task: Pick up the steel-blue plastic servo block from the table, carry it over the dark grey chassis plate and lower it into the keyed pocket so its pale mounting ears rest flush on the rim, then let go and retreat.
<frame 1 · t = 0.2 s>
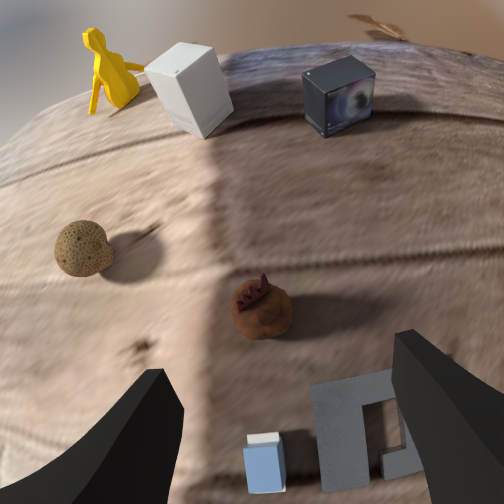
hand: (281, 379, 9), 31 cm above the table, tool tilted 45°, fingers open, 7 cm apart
chassis plate: (380, 425, 33), on the table
supplement box: (203, 118, 58), on the table
wooden figurine: (268, 320, 41), on the table
small box: (338, 118, 52), on the table
natural sponge: (101, 261, 49), on the table
servo block: (269, 458, 34), on the table
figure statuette: (127, 100, 66), on the table
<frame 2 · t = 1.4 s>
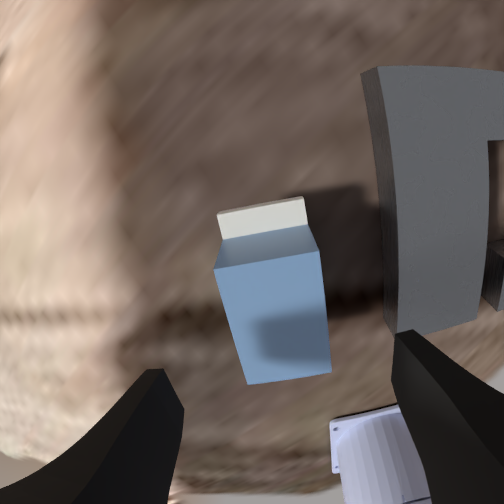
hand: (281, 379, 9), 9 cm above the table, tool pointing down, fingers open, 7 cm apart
chassis plate: (493, 190, 15), on the table
servo block: (274, 261, 17), on the table
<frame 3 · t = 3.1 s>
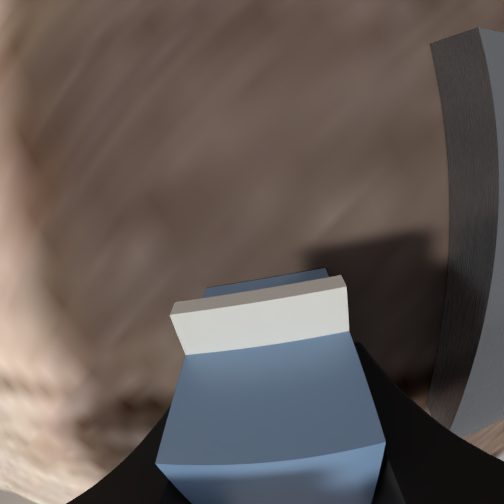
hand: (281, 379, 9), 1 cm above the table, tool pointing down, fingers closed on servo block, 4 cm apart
servo block: (280, 350, 11), on the table, touching gripper
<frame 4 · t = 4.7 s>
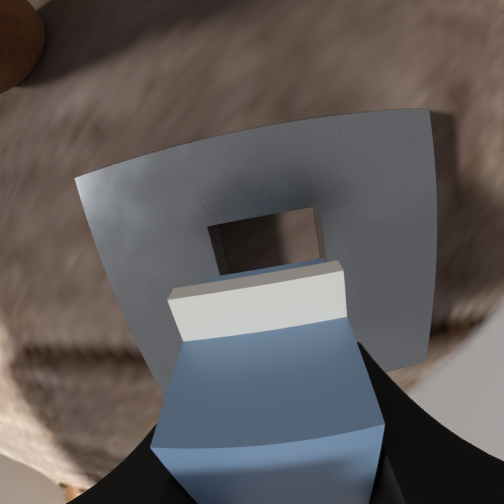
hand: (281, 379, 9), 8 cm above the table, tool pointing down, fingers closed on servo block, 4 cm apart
chassis plate: (274, 263, 17), on the table
wooden figurine: (22, 53, 13), on the table
servo block: (278, 342, 11), point 7 cm above the table, touching gripper
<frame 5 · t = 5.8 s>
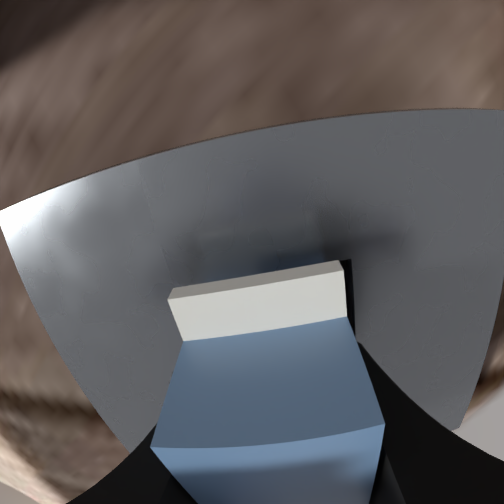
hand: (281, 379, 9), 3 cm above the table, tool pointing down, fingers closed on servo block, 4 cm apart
chassis plate: (278, 323, 12), on the table
servo block: (278, 341, 11), point 1 cm above the table, touching gripper
when the fingers open (3 cm above the table, at t = 6.5 s): servo block drops 2 cm, resting in chassis plate.
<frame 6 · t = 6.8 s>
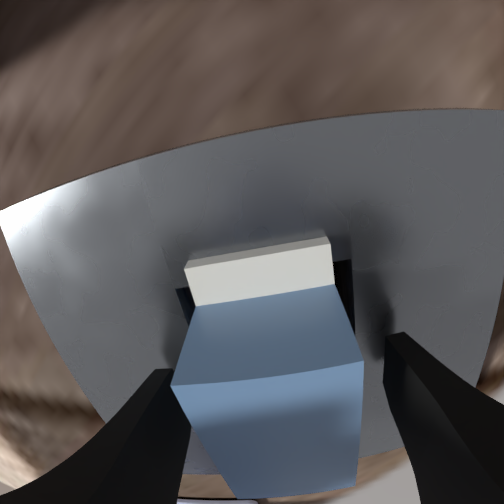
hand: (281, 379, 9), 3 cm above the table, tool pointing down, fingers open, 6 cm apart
chassis plate: (278, 323, 12), on the table
servo block: (277, 317, 12), resting in chassis plate
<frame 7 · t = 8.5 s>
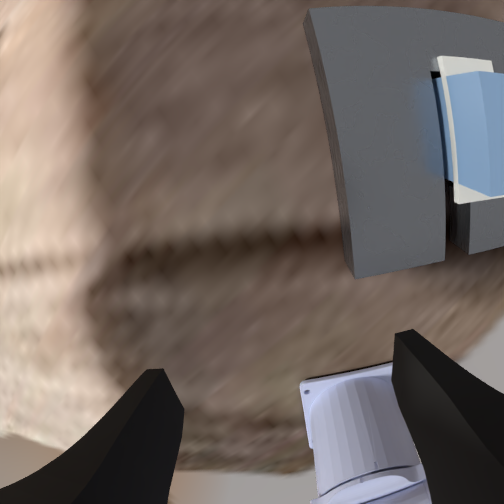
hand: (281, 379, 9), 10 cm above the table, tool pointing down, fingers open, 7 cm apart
chassis plate: (452, 130, 16), on the table
servo block: (451, 126, 16), resting in chassis plate
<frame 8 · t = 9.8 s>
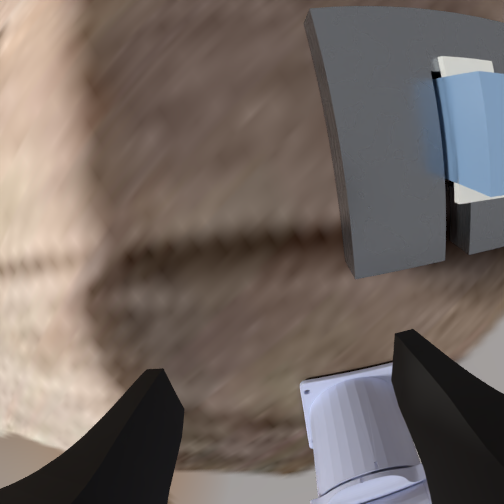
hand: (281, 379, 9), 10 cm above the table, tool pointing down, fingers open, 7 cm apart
chassis plate: (452, 131, 16), on the table
servo block: (451, 126, 16), resting in chassis plate
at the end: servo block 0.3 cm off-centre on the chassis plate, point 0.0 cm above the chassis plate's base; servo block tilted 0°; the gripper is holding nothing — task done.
